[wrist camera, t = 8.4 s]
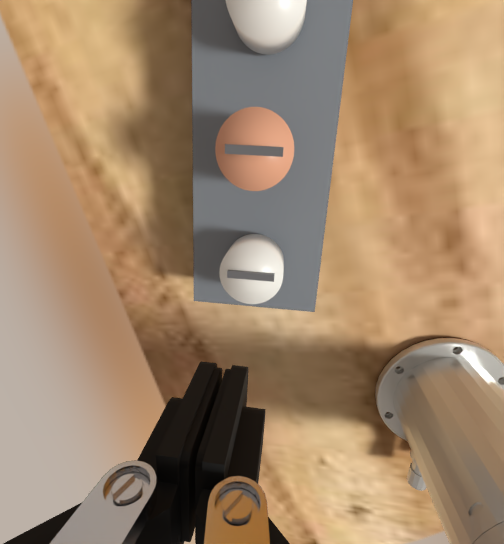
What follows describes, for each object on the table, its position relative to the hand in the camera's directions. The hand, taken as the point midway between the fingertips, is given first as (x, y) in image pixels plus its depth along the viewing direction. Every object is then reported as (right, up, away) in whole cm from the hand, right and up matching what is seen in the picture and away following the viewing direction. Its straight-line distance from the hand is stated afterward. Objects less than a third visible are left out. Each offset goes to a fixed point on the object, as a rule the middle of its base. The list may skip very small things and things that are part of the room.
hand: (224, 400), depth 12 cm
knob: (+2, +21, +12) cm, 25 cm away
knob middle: (+2, +13, +13) cm, 18 cm away
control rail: (+2, +15, +17) cm, 22 cm away
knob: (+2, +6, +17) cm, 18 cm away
